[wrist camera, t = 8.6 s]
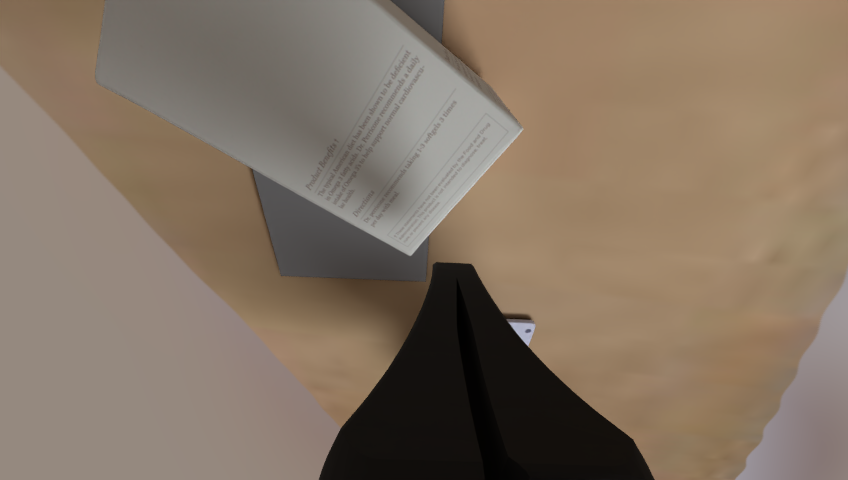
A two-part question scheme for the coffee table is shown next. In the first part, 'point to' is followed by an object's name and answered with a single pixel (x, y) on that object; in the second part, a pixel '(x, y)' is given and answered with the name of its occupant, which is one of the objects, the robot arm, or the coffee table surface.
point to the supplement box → (316, 101)
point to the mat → (332, 236)
